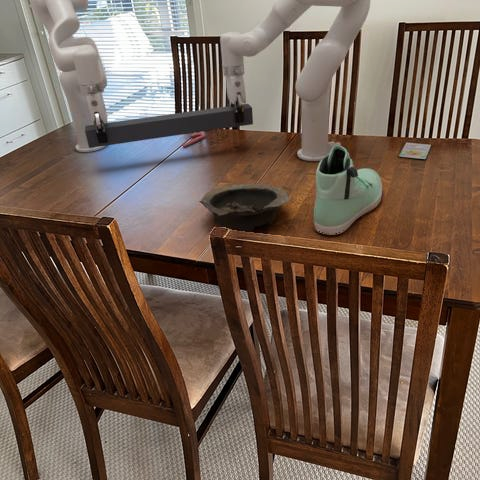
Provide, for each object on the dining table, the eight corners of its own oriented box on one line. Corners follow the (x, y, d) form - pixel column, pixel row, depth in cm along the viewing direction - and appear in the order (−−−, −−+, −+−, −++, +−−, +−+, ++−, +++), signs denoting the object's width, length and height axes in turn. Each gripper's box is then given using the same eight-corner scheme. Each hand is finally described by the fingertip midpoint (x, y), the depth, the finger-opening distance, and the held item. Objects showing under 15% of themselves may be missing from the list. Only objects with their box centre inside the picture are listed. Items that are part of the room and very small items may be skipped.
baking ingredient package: (399, 155, 168) (406, 141, 179) (398, 156, 168) (406, 143, 179) (425, 158, 164) (431, 144, 176) (425, 159, 164) (431, 145, 176)
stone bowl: (227, 251, 123) (222, 218, 119) (191, 218, 143) (186, 190, 139) (307, 222, 132) (305, 191, 128) (262, 196, 152) (259, 168, 148)
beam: (89, 148, 168) (84, 130, 165) (89, 142, 173) (85, 125, 170) (253, 124, 178) (252, 107, 175) (249, 119, 183) (248, 103, 180)
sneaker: (389, 187, 148) (396, 123, 138) (356, 242, 123) (361, 168, 112) (346, 181, 154) (350, 119, 144) (306, 232, 129) (307, 161, 118)
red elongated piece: (173, 146, 194) (173, 142, 193) (197, 134, 204) (196, 131, 203) (185, 148, 191) (184, 144, 190) (208, 136, 201) (207, 132, 200)
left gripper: (103, 93, 155) (114, 146, 164) (103, 81, 169) (113, 130, 178) (79, 96, 153) (92, 149, 163) (81, 83, 168) (93, 133, 177)
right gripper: (250, 73, 163) (253, 125, 172) (237, 64, 177) (241, 112, 187) (229, 76, 162) (233, 128, 171) (217, 67, 176) (222, 115, 185)
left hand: (103, 139), depth 171 cm, fingers closed on beam, 5 cm apart
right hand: (237, 119), depth 179 cm, fingers closed on beam, 5 cm apart
